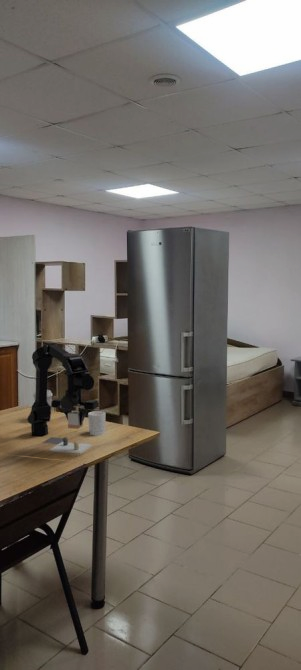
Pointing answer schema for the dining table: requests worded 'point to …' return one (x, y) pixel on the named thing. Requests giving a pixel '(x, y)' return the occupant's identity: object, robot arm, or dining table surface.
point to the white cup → (97, 423)
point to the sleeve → (74, 420)
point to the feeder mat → (53, 440)
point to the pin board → (70, 447)
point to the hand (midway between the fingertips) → (75, 424)
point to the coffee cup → (49, 398)
